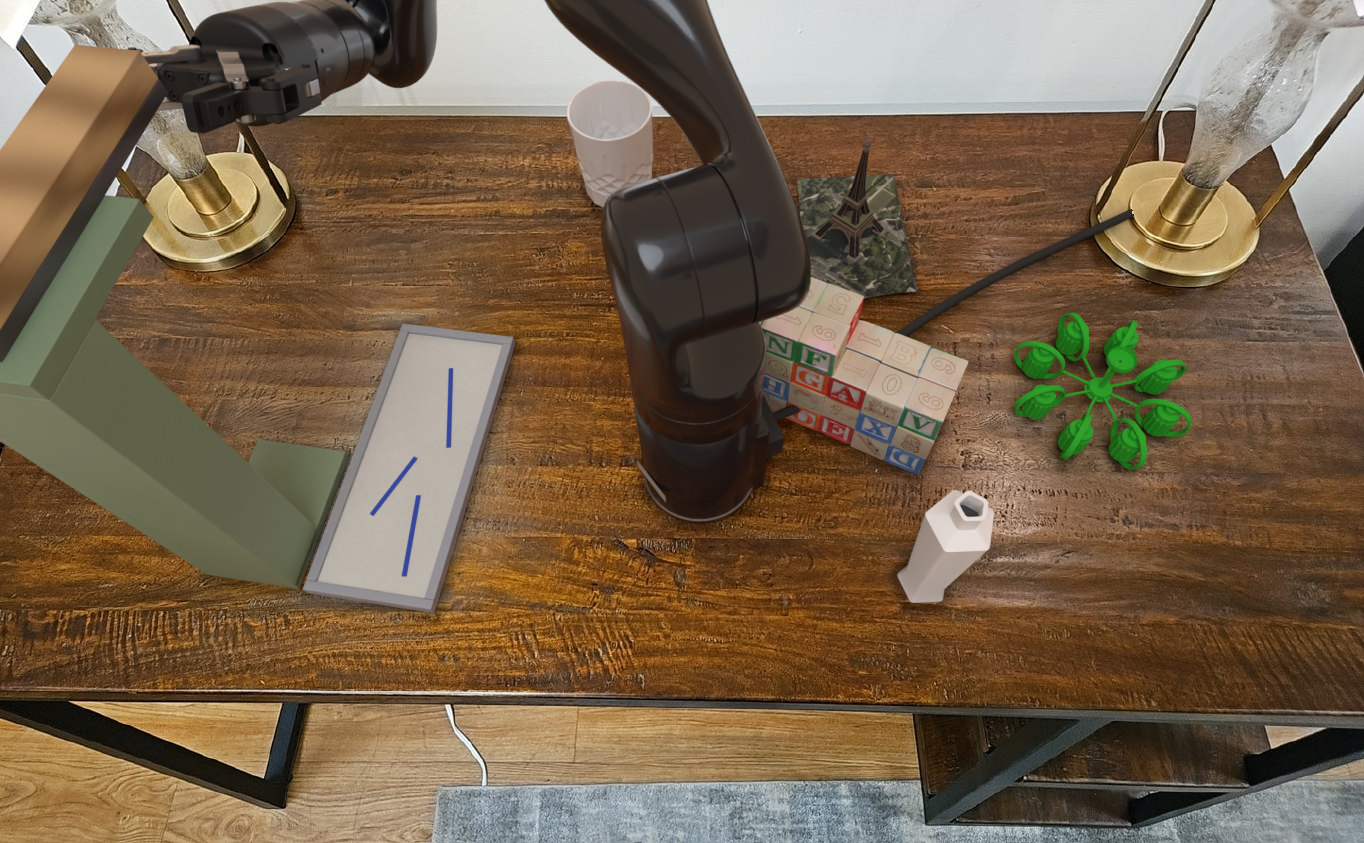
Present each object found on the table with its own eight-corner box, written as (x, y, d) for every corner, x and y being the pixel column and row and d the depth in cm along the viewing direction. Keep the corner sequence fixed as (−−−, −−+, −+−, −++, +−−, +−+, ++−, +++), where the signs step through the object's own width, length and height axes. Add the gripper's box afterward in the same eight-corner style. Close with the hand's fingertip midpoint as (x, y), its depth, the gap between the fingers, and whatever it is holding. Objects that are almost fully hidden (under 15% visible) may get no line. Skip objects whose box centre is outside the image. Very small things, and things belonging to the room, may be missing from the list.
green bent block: (263, 444, 77) (6, 183, 49) (350, 456, 77) (139, 198, 48) (206, 574, 72) (-119, 365, 44) (299, 589, 71) (28, 385, 43)
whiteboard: (405, 329, 83) (402, 323, 82) (515, 343, 82) (513, 336, 81) (307, 593, 71) (302, 589, 70) (434, 613, 70) (430, 609, 69)
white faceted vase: (946, 551, 71) (1000, 471, 58) (956, 604, 69) (1014, 534, 56) (889, 553, 71) (929, 474, 58) (897, 607, 69) (941, 537, 56)
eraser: (106, 86, 53) (74, 43, 50) (168, 92, 52) (139, 49, 50) (-72, 353, 44) (-122, 318, 41) (2, 363, 44) (-44, 328, 41)
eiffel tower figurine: (919, 297, 83) (953, 197, 71) (810, 304, 83) (827, 205, 71) (892, 177, 90) (919, 68, 78) (792, 183, 90) (804, 75, 78)
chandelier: (1132, 315, 81) (1166, 267, 75) (1213, 459, 74) (1258, 419, 68) (976, 347, 80) (998, 301, 74) (1043, 496, 73) (1073, 459, 67)
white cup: (672, 175, 91) (668, 98, 82) (629, 227, 88) (620, 152, 79) (609, 147, 93) (598, 68, 84) (565, 196, 90) (549, 120, 81)
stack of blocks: (943, 418, 77) (981, 339, 66) (917, 477, 74) (952, 405, 63) (721, 326, 82) (723, 239, 71) (690, 378, 79) (686, 296, 68)
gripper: (171, -3, 64) (-12, 28, 50) (358, 13, 63) (222, 50, 49) (196, 104, 68) (32, 161, 54) (372, 122, 67) (249, 184, 53)
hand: (122, 108), depth 52 cm, fingers open, 8 cm apart
